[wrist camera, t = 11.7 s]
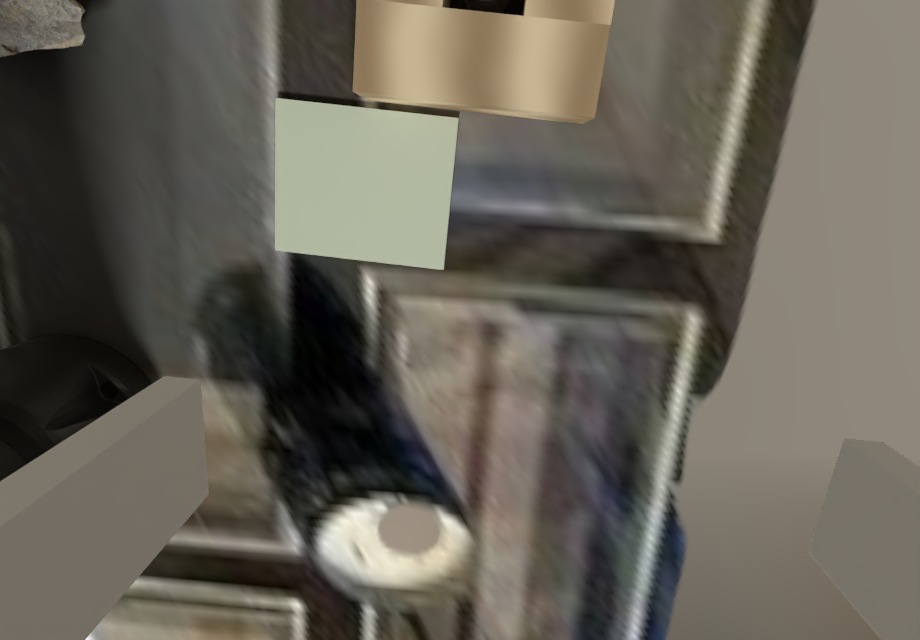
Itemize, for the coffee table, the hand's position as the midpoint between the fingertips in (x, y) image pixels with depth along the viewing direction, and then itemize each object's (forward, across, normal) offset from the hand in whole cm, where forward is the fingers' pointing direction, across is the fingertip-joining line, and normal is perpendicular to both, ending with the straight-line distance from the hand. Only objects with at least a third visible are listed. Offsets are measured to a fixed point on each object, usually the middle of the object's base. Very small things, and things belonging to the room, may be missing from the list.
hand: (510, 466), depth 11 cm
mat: (+26, -9, +4) cm, 28 cm away
